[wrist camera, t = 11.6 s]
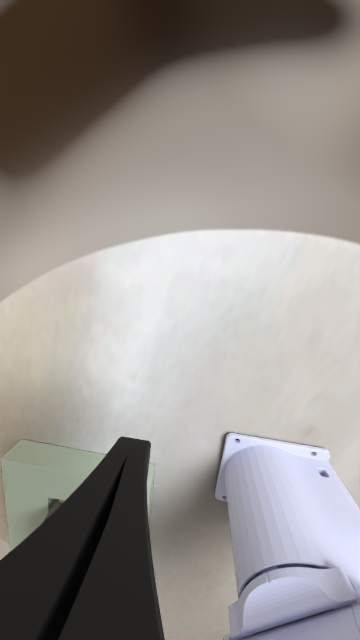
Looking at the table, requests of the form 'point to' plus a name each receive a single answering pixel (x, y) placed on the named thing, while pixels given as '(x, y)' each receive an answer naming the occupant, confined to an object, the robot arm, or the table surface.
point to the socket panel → (45, 482)
